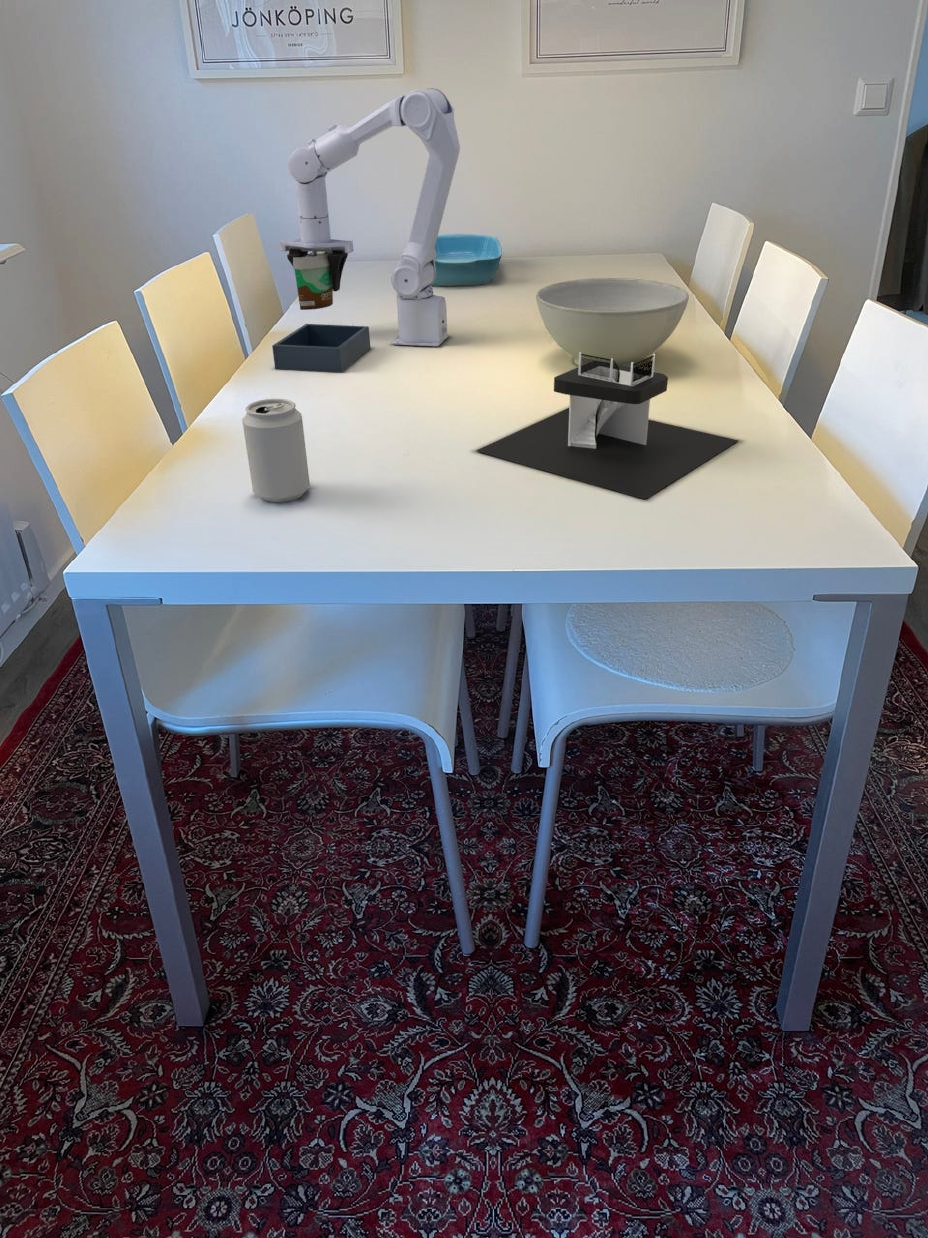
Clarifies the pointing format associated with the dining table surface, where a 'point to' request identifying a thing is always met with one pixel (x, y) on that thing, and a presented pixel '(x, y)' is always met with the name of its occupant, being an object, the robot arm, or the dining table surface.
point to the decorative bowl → (611, 316)
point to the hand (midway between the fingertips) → (320, 289)
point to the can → (276, 450)
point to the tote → (321, 347)
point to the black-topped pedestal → (610, 432)
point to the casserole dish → (466, 259)
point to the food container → (313, 280)
